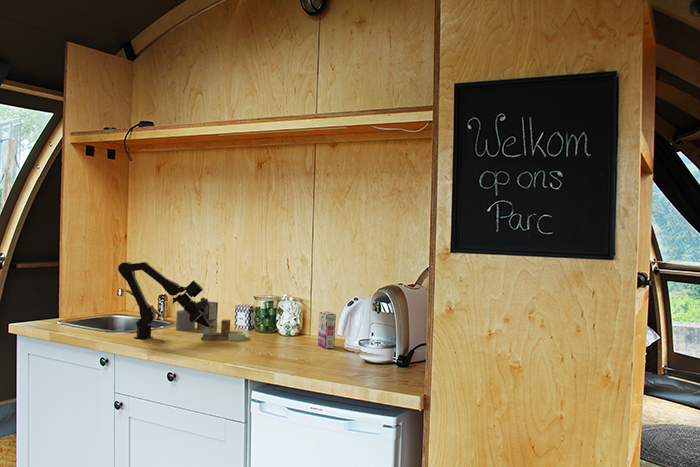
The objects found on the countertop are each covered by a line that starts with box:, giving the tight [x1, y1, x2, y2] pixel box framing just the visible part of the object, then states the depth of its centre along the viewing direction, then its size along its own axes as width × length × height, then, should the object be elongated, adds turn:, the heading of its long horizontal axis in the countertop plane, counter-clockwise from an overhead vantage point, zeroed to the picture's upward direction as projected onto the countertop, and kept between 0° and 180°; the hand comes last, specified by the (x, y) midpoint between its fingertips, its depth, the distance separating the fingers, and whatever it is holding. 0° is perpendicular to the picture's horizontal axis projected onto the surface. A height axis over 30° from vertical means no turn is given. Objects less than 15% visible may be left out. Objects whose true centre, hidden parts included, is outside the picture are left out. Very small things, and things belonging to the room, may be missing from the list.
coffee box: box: [196, 300, 219, 334], centre depth 282 cm, size 9×6×16 cm
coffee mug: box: [175, 309, 196, 332], centre depth 290 cm, size 13×10×10 cm
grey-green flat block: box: [227, 330, 246, 341], centre depth 266 cm, size 8×9×3 cm
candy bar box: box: [317, 311, 337, 350], centre depth 253 cm, size 11×5×16 cm, turn 22°
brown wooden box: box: [220, 319, 231, 337], centre depth 265 cm, size 4×6×9 cm
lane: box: [200, 333, 229, 341], centre depth 264 cm, size 13×9×2 cm
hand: (208, 326), depth 264 cm, fingers closed
